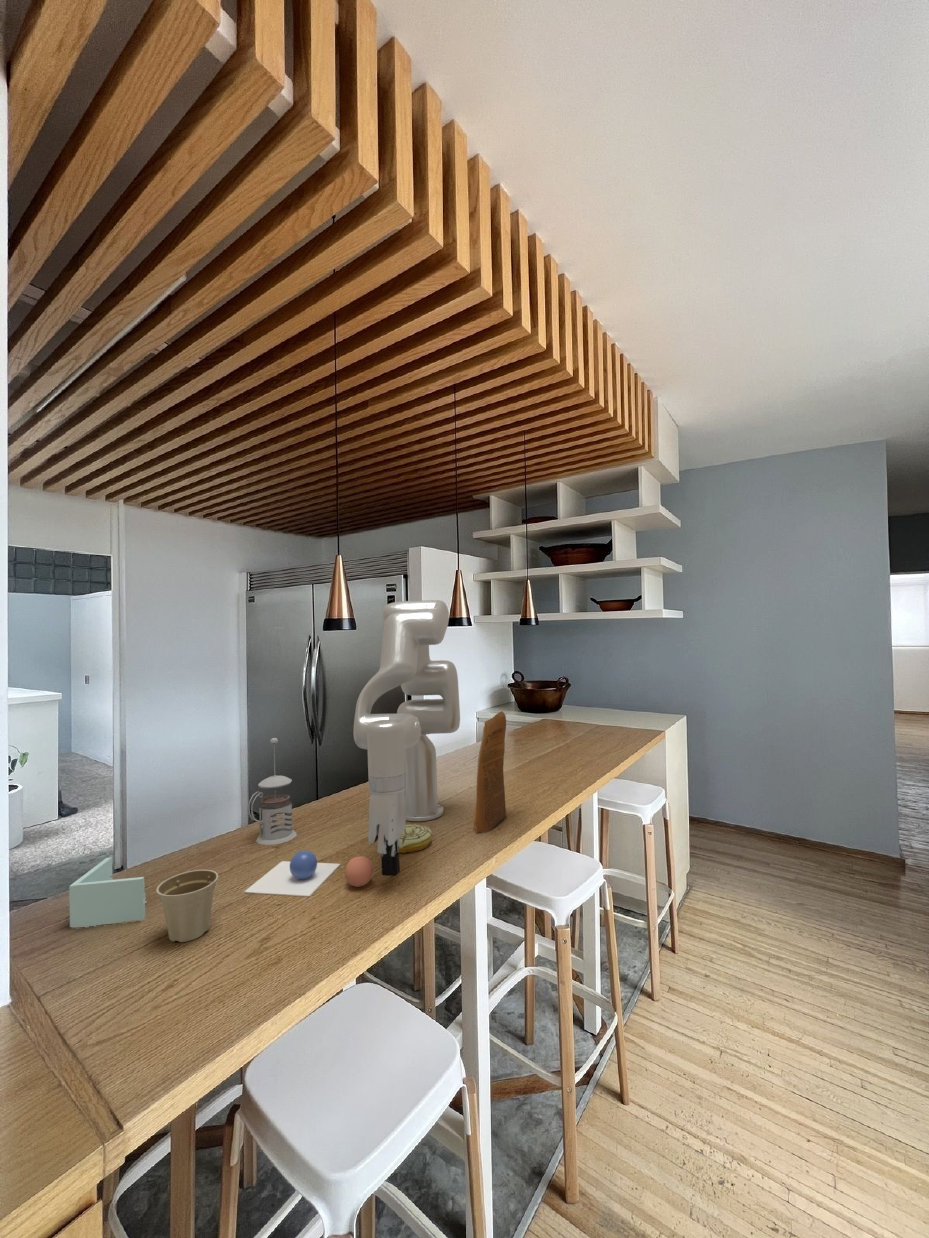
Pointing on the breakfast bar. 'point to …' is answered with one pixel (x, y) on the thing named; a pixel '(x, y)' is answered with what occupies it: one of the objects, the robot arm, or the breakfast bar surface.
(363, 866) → the pink smooth round ball
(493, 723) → the pancake mix bag
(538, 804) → the breakfast bar surface
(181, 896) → the flower pot
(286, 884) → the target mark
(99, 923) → the right angle wall
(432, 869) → the breakfast bar surface
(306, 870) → the blue ball
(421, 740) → the robot arm
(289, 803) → the french press
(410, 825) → the decorated donut
